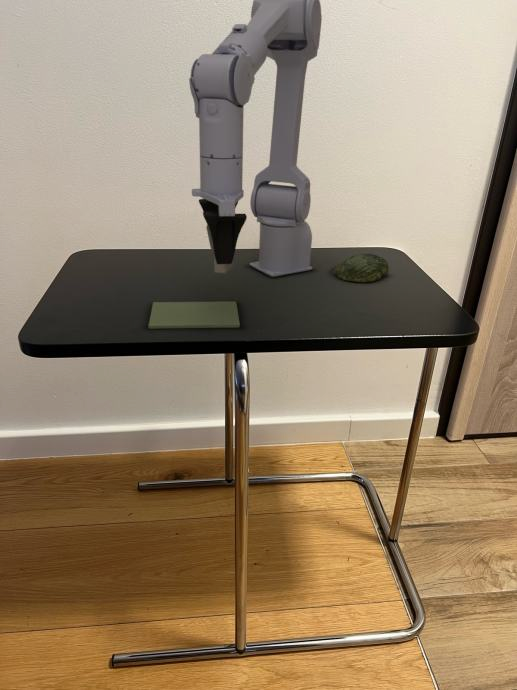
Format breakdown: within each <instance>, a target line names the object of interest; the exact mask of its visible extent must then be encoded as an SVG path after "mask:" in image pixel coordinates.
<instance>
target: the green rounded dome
mask: <svg viewBox="0 0 517 690" xmlns="http://www.w3.org/2000/svg"><path fill="white" fill-rule="evenodd" d="M332 273H333V275H334V276H335V277H337V278H338V279H340V280H343V281H349V282H356V283H372V282H376V281H379V280H381V279H382V277H387V275H388V273H389V263H388V261H387V260H386V259H385V258H384V257H382V256H380V255H377V254H373V253H359V254H356V255H353V256H350V257H348V258H346V259H344V260H343V261H342V262H340V263H339V264H338V265H337V266H336V267H335V268H334V269H333V272H332Z"/></svg>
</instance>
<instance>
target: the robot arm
mask: <svg viewBox="0 0 517 690" xmlns="http://www.w3.org/2000/svg"><path fill="white" fill-rule="evenodd" d="M322 18H323V16H322V6H321V0H253V1H252V6H251V11H250V20H249V21H248V23H247V24H246V23H236V24H234V25H233V27H232V28H231V31H230V33H229V34H228V35H227V36H226V37H225V38H224V39H223V40H222V41H221V42H220V44H219V45H218V46H217V47H216V48H215V49H214V50H213V52H212V53H203V54H201V55H199V57H198V58H196V59H195V60H194V61H193V63H192V66H191V68H190V76H189V77H188V78H189V79H188V83H189V89H190V93H191V96H192V99H193V103H194V114H195V118H196V119H198V126H199V127H198V131H199V135H198V136H199V184H200V185H199V188H192V189H191V196H192V197H200V198H199V199H198V203H199V205H200V207H201V209H202V216H203V218H204V220H205V222H206V224H207V225H208V227H209V229H210V232H211V237H212V242H213V249H214V250H213V256H214V255H215V259H216V262H217V264H232V261H233V258H235V253H236V247H237V243H238V239H239V237H240V233H241V231H242V228H243V227H244V225H245V223H246V222H247V219H248V218H247V217H248V216H247V214H246V213H236V208H237V206H238V204H239V201H240V200H242V198H244V196H245V195H244V194H245V192H244V189H243V171H244V170H243V169H244V168H243V167H244V165H243V164H244V157H243V156H244V110H245V109H244V107H245V105H247V104H248V103H249V101H250V99H251V95H252V89H253V85H254V83H255V80H256V79H255V76H256V74H257V73H258V72H259V70H260V69H261V68H262V66H263V65H264V63H265V62H266V60H267V58H269V59H270V60H273V61H274V62H275V65H276V76H275V77H276V78H275V90H274V101H273V102H274V103H273V113H272V126H271V137H270V150H269V161H268V166H266V167H265V168H264V169H263V170H260V171H259V172H258V173H257V174H256V175H255V177H254V180H253V181H254V182H253V188H252V191H251V195H250V211H251V213H252V215H253V216H254V217H255V218H256V222H257V223H259V242H258V243H259V244H258V245H259V246H258V247H259V248H258V261H253V262H249V266H250V267H252V268H254V269H256V270H258V271H259V272H262V273H263V274H264V275H267V276H269V277H272V278H274V277H280V276H286V275H289V274H290V275H291V274H296V273H303V272H307V271H311V270H313V267H312V266H311V257H312V256H311V254H312V243H313V242H312V241H313V234H312V229H311V226H310V224H309V223H308V222H307V221H306V220H307V218H308V216H309V213H310V210H311V202H312V201H311V199H312V198H311V180H310V179H309V177H308V176H307V175H306V173H304V172H303V170H301V169H300V168H299V167H298V155H299V145H300V143H299V142H300V134H301V124H302V123H301V122H302V114H303V113H302V112H303V104H304V93H305V85H306V84H305V83H306V74H307V69H308V63H309V62H310V61H312V60H314V58H316V57H317V56H318V50H319V49H320V48H319V47H320V41H321V40H320V39H321V29H322V22H323V21H322V20H323V19H322ZM272 182H274V183H272ZM275 183H282V184H275ZM283 183H284V184H283ZM285 184H291V185H285ZM207 225H206V226H207Z"/></svg>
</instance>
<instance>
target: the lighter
mask: <svg viewBox="0 0 517 690" xmlns="http://www.w3.org/2000/svg"><path fill="white" fill-rule="evenodd" d="M206 233H207V237H208V242H209V243H208V244H209V247H210V249H211V250H213V251H214V249H213V242H212V237H211V232H210V229H209V227H208V225H206ZM213 258H214V259H213V272H214V273H218V274H227V272H228V271H230V270H231V268H233V267H234V262H235V261H234V260H235V259H234V258H235V257H234V258H233V261H232V264H217V262H216V259H215V255H214V254H213Z"/></svg>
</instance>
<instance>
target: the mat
mask: <svg viewBox="0 0 517 690" xmlns="http://www.w3.org/2000/svg"><path fill="white" fill-rule="evenodd" d="M240 327H241V323H240V316H239V311H238V304H237V301H153V302H152V305H151V312H150V317H149V322H148V329H150V330H151V329H156V330H157V329H159V330H160V329H225V328H226V329H227V328H228V329H229V328H230V329H231V328H233V329H235V328H237V329H239V328H240Z"/></svg>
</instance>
